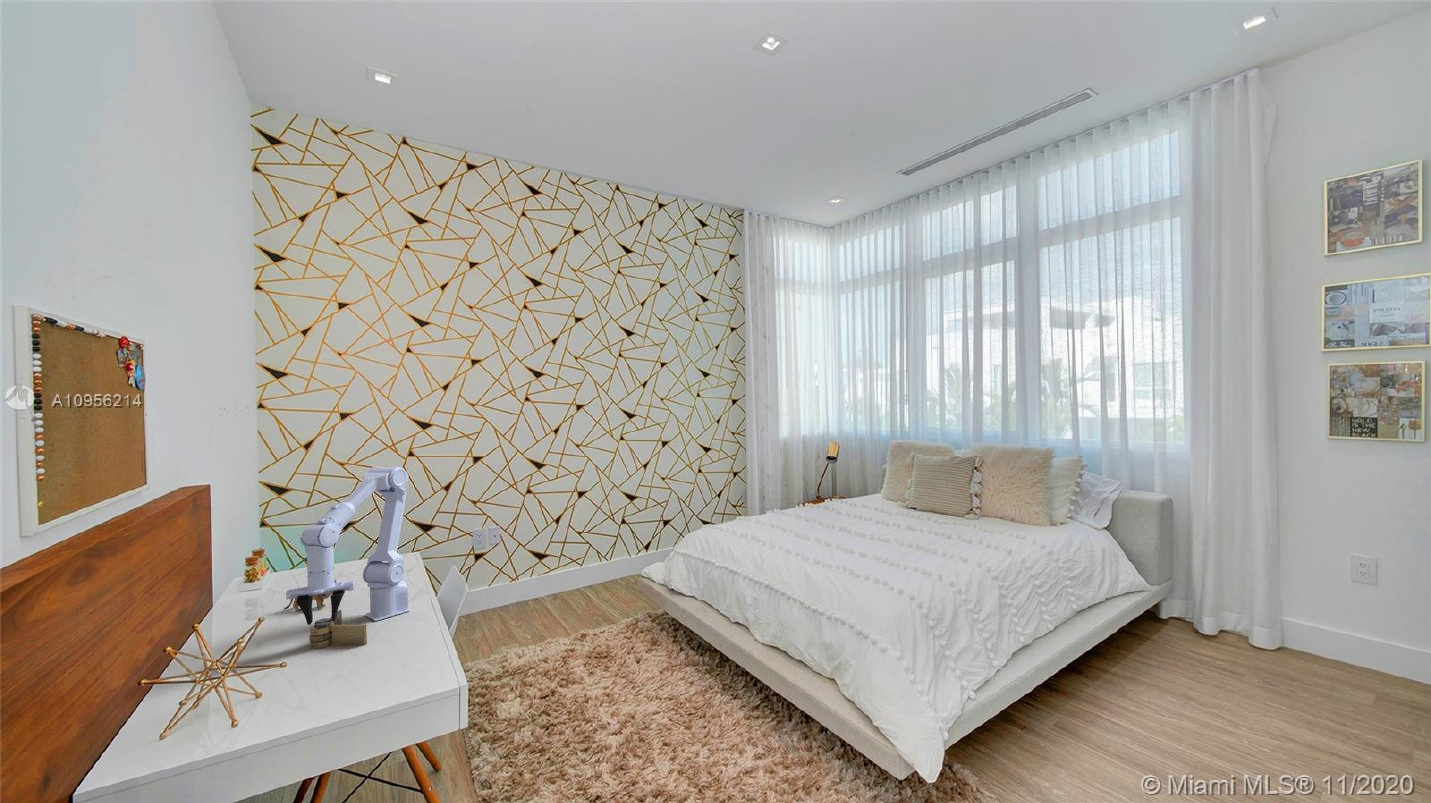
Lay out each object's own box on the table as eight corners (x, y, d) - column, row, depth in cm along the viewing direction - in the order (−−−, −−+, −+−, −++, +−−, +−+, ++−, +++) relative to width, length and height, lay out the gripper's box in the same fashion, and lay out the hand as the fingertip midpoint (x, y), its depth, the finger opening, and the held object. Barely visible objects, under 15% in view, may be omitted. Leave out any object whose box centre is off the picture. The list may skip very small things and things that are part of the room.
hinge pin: (328, 640, 145) (329, 616, 145) (333, 644, 142) (333, 620, 142) (312, 645, 142) (312, 621, 142) (316, 649, 139) (317, 624, 139)
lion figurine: (341, 602, 173) (340, 574, 173) (333, 609, 168) (333, 580, 168) (287, 608, 169) (287, 579, 169) (278, 614, 164) (278, 585, 164)
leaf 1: (329, 645, 140) (329, 628, 140) (307, 648, 139) (306, 631, 139) (350, 624, 154) (350, 608, 154) (330, 626, 153) (329, 611, 153)
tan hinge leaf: (305, 648, 140) (305, 629, 140) (321, 640, 145) (320, 621, 145) (358, 648, 139) (358, 629, 139) (372, 640, 144) (371, 621, 144)
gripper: (281, 578, 136) (283, 632, 135) (350, 569, 141) (351, 621, 141) (290, 570, 142) (291, 622, 142) (355, 562, 148) (356, 612, 148)
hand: (322, 621), depth 142 cm, fingers open, 5 cm apart
